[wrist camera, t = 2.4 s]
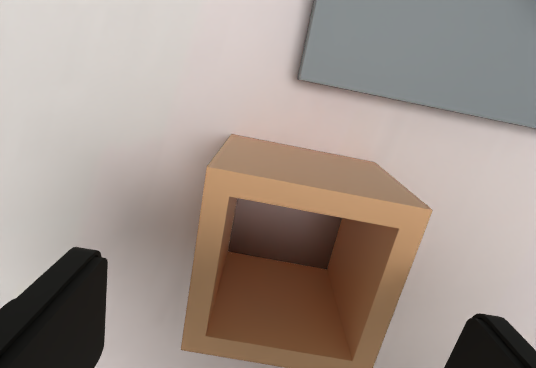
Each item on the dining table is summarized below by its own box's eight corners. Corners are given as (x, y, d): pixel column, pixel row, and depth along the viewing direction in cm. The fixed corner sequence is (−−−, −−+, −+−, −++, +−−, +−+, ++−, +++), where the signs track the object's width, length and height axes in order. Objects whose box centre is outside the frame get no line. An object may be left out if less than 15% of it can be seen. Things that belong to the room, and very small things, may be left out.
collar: (375, 162, 16) (432, 210, 10) (337, 284, 18) (367, 381, 12) (231, 134, 15) (206, 166, 10) (211, 261, 18) (180, 349, 12)
